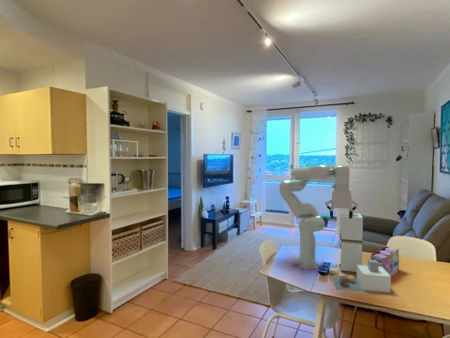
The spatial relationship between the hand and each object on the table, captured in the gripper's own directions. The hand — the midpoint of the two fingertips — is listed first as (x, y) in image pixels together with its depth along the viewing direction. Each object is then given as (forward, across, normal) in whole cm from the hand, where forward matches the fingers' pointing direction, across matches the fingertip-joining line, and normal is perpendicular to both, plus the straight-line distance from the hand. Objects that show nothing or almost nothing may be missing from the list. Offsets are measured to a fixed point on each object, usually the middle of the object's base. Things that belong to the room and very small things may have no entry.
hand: (341, 218), depth 155 cm
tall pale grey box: (+36, +9, +16) cm, 41 cm away
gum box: (+37, +29, +16) cm, 49 cm away
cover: (+35, +16, -4) cm, 39 cm away
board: (+36, +10, -4) cm, 38 cm away
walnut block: (+35, +1, -6) cm, 36 cm away
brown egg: (+35, +6, -2) cm, 36 cm away
